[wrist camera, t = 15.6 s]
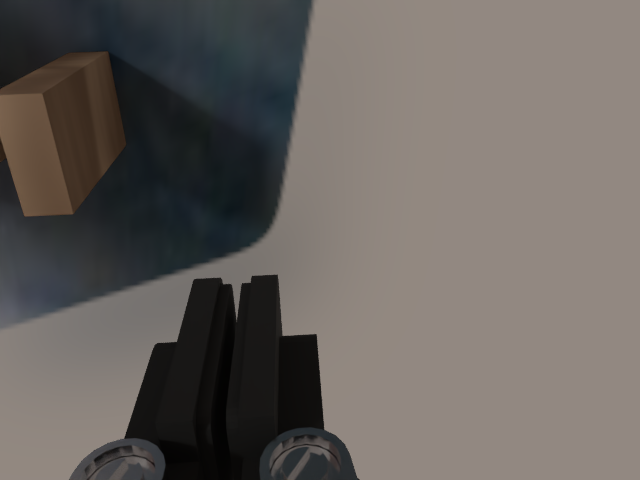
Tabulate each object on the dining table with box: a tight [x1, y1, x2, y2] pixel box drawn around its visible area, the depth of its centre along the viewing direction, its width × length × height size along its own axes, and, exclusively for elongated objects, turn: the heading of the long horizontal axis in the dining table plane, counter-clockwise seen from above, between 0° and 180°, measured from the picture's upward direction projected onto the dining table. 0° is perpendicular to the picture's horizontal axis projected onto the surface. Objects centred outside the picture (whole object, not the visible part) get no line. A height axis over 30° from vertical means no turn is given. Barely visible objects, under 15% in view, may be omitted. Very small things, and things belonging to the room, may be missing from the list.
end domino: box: [0, 51, 126, 217], centre depth 26 cm, size 2×5×9 cm, turn 1°
